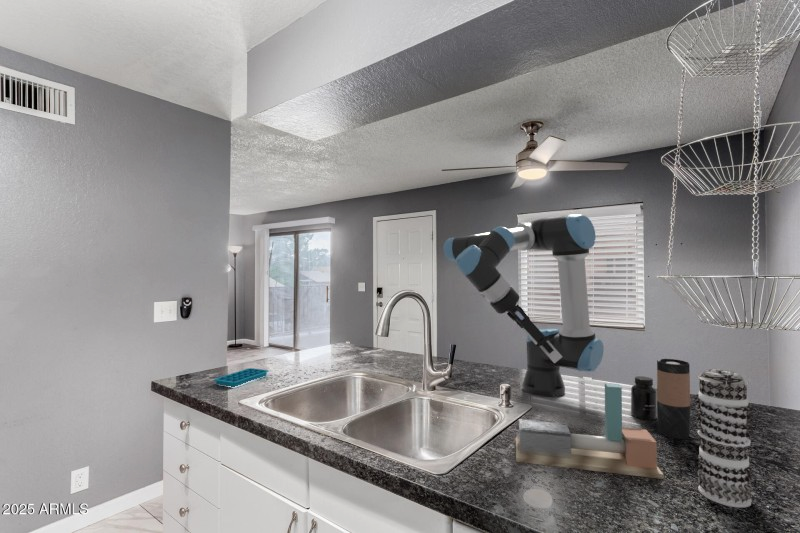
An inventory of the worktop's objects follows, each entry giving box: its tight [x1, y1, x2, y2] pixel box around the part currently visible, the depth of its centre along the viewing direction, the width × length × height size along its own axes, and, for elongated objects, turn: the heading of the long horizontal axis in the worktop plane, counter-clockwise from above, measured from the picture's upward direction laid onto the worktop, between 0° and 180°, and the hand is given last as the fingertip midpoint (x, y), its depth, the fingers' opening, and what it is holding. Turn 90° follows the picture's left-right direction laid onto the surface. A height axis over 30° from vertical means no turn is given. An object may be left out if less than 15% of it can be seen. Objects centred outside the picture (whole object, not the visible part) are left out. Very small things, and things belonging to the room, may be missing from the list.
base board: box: [515, 436, 664, 480], centre depth 97 cm, size 31×12×1 cm, turn 74°
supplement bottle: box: [630, 375, 658, 421], centre depth 124 cm, size 7×7×12 cm
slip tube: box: [570, 382, 626, 454], centre depth 96 cm, size 16×4×16 cm, turn 74°
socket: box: [621, 427, 658, 469], centre depth 94 cm, size 6×7×6 cm
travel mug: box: [656, 358, 691, 440], centre depth 111 cm, size 8×8×20 cm
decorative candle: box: [694, 368, 754, 509], centre depth 81 cm, size 9×9×25 cm
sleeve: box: [518, 418, 571, 459], centre depth 100 cm, size 12×7×6 cm, turn 74°
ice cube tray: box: [213, 367, 270, 387], centre depth 167 cm, size 12×20×3 cm, turn 156°
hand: (548, 350), depth 111 cm, fingers open, 13 cm apart
